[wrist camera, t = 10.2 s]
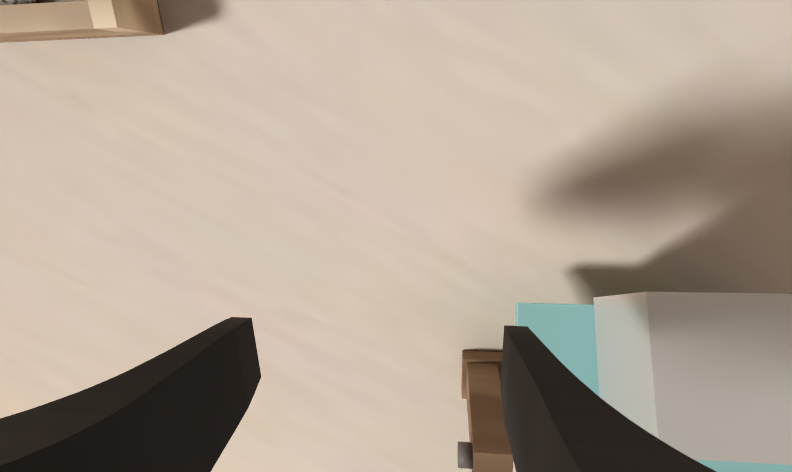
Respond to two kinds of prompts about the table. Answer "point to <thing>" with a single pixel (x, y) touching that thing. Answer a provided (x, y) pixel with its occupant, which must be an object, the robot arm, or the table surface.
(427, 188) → the table surface
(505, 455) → the frame
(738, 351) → the light grey cube
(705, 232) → the table surface
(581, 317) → the trapdoor
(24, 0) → the rock sample
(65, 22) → the square wooden tray
